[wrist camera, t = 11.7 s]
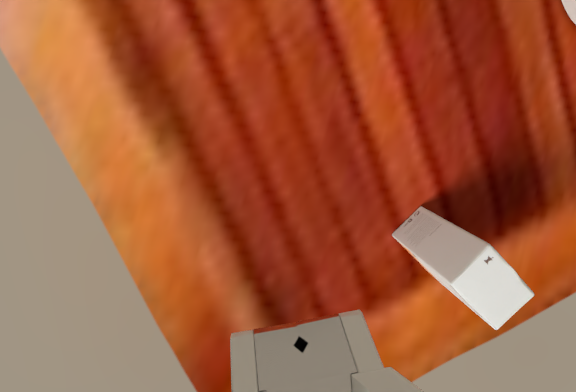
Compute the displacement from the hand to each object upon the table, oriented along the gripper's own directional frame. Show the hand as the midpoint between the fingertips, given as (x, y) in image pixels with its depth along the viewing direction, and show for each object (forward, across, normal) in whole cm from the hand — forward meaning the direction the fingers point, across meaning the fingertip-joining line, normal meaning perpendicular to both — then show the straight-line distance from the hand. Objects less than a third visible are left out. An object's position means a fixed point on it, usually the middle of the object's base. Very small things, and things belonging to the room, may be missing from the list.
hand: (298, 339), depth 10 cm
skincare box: (+27, -15, +20) cm, 36 cm away
